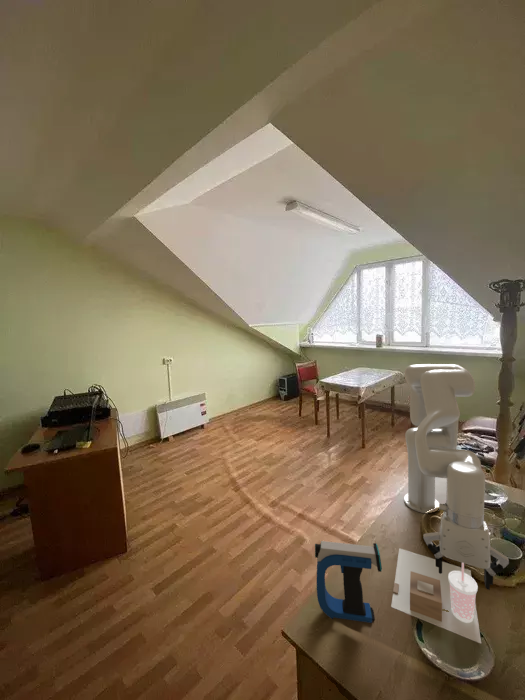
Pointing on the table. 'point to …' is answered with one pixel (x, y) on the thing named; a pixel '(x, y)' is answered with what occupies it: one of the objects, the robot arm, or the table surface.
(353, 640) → the table surface
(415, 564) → the subfloor panel
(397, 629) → the table surface
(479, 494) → the robot arm
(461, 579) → the beverage cup
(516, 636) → the table surface
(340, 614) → the handheld scanner
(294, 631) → the table surface
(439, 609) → the block
